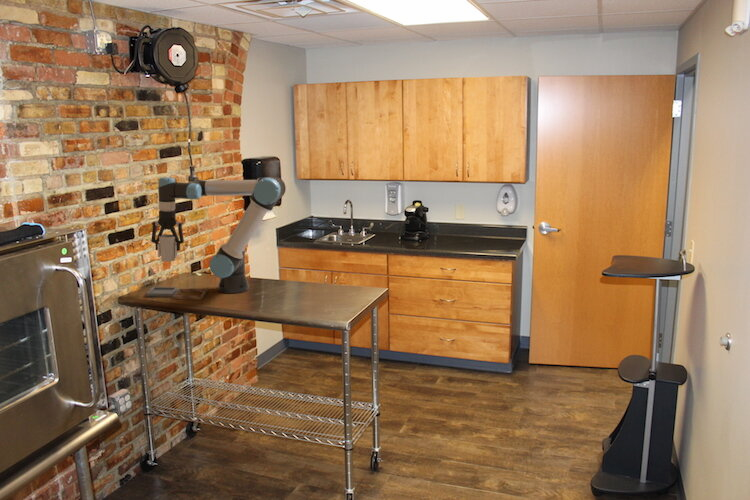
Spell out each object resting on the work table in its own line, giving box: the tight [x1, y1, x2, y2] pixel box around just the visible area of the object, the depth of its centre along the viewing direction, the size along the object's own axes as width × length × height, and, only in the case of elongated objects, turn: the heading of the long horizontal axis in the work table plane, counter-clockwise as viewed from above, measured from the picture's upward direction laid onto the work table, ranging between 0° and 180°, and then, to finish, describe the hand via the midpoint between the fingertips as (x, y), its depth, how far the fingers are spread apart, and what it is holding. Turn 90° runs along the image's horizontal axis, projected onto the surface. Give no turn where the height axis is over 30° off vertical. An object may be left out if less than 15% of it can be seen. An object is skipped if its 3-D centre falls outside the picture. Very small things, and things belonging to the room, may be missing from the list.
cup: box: [159, 233, 177, 263], centre depth 295 cm, size 8×8×12 cm
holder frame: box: [172, 288, 208, 300], centre depth 298 cm, size 14×14×2 cm
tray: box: [146, 286, 179, 298], centre depth 299 cm, size 12×12×2 cm
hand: (167, 256), depth 296 cm, fingers closed on cup, 7 cm apart
